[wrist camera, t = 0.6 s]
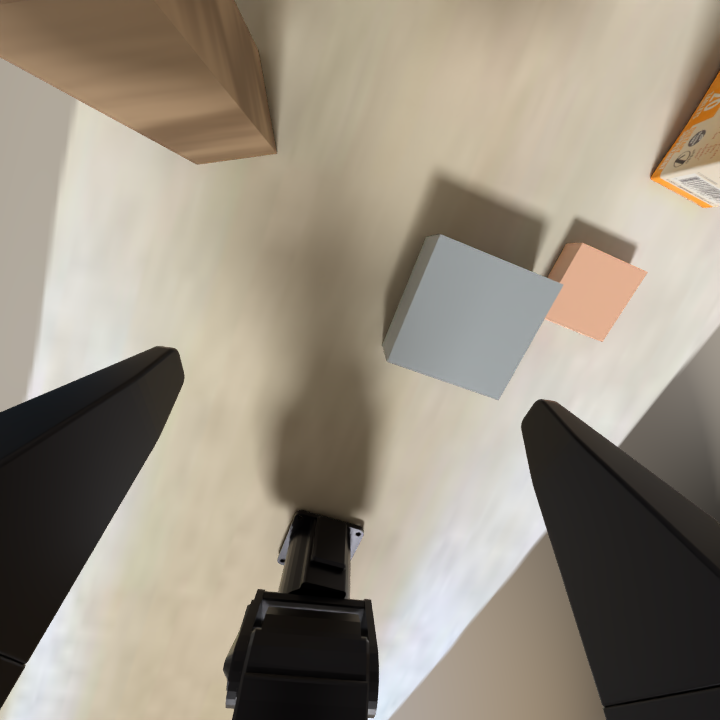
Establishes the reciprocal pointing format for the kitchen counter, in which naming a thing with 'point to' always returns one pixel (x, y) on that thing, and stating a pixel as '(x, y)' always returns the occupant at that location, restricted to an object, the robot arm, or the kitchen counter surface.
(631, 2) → the kitchen counter surface
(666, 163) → the supplement box
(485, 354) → the pedestal
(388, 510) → the kitchen counter surface
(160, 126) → the walnut block
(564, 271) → the terracotta tile
